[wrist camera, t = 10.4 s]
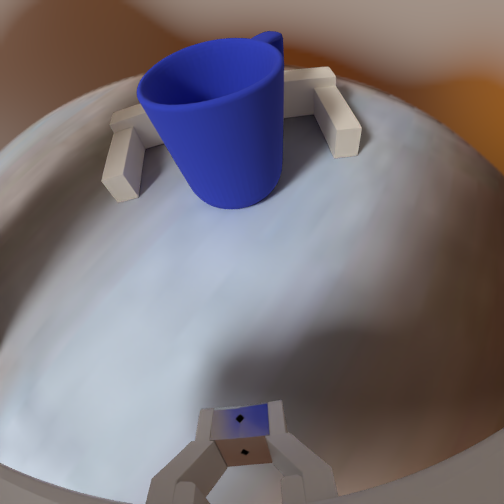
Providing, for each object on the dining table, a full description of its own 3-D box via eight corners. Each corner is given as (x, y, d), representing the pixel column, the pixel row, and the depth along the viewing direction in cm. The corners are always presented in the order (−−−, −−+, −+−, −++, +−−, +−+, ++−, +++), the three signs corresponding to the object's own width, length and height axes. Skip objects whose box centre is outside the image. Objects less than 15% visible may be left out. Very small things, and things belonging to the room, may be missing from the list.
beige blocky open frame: (118, 203, 23) (75, 146, 17) (129, 141, 27) (100, 88, 21) (357, 155, 22) (368, 83, 16) (327, 100, 26) (328, 38, 20)
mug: (326, 131, 24) (328, 26, 15) (258, 242, 20) (228, 120, 11) (244, 110, 27) (225, 17, 18) (165, 202, 23) (108, 101, 14)
